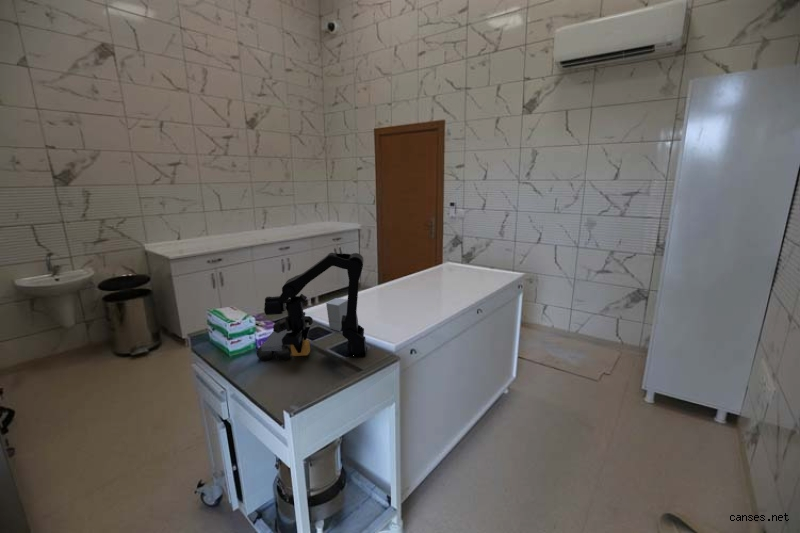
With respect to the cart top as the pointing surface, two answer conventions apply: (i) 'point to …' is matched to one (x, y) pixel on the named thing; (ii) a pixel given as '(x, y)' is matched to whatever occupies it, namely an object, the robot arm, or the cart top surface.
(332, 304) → the supplement box
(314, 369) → the cart top surface
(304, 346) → the block
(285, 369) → the cart top surface
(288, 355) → the trolley
